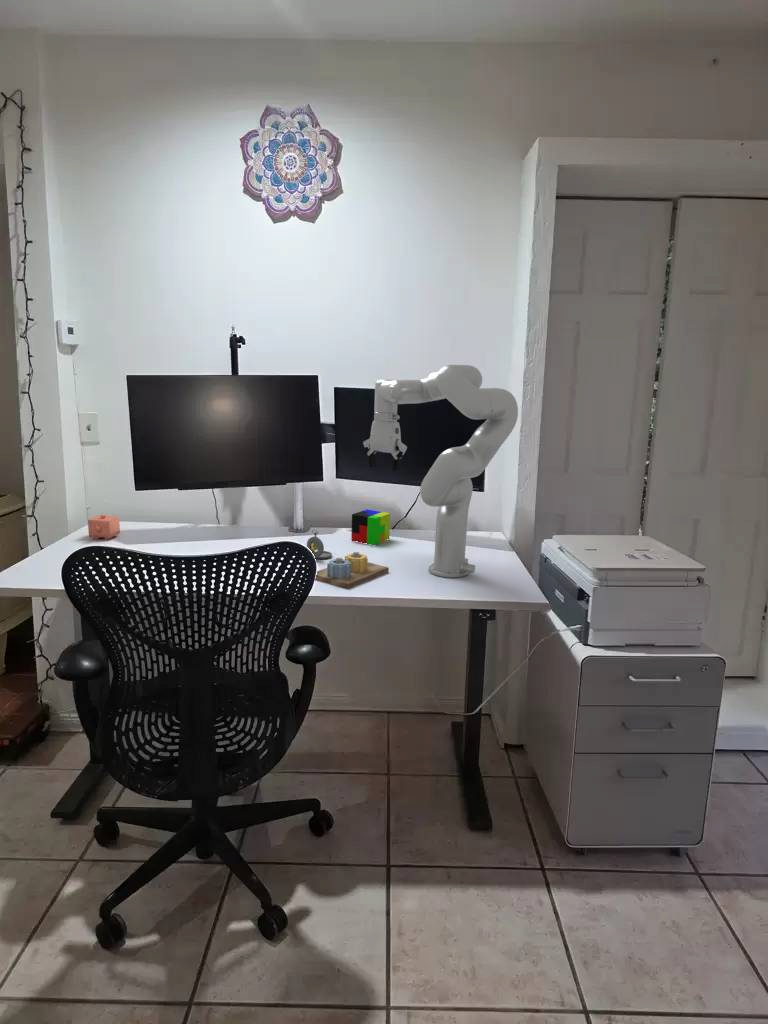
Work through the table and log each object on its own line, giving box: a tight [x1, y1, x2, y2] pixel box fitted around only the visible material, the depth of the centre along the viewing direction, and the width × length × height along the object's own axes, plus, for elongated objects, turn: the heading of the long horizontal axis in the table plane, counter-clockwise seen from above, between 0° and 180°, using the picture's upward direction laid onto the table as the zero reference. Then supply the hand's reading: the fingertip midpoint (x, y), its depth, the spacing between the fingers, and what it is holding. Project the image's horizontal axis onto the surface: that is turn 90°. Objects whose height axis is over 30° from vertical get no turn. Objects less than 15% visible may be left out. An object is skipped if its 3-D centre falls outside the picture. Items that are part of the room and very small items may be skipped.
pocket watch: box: [306, 529, 333, 560], centre depth 215 cm, size 8×8×10 cm
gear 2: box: [344, 552, 369, 572], centre depth 201 cm, size 7×7×4 cm
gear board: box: [315, 551, 390, 590], centre depth 199 cm, size 14×20×6 cm
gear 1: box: [326, 558, 351, 579], centre depth 194 cm, size 7×7×4 cm
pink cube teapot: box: [87, 514, 121, 540], centre depth 229 cm, size 8×12×8 cm, turn 174°
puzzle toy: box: [350, 509, 391, 546], centre depth 237 cm, size 10×10×10 cm
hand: (383, 468), depth 220 cm, fingers open, 9 cm apart
